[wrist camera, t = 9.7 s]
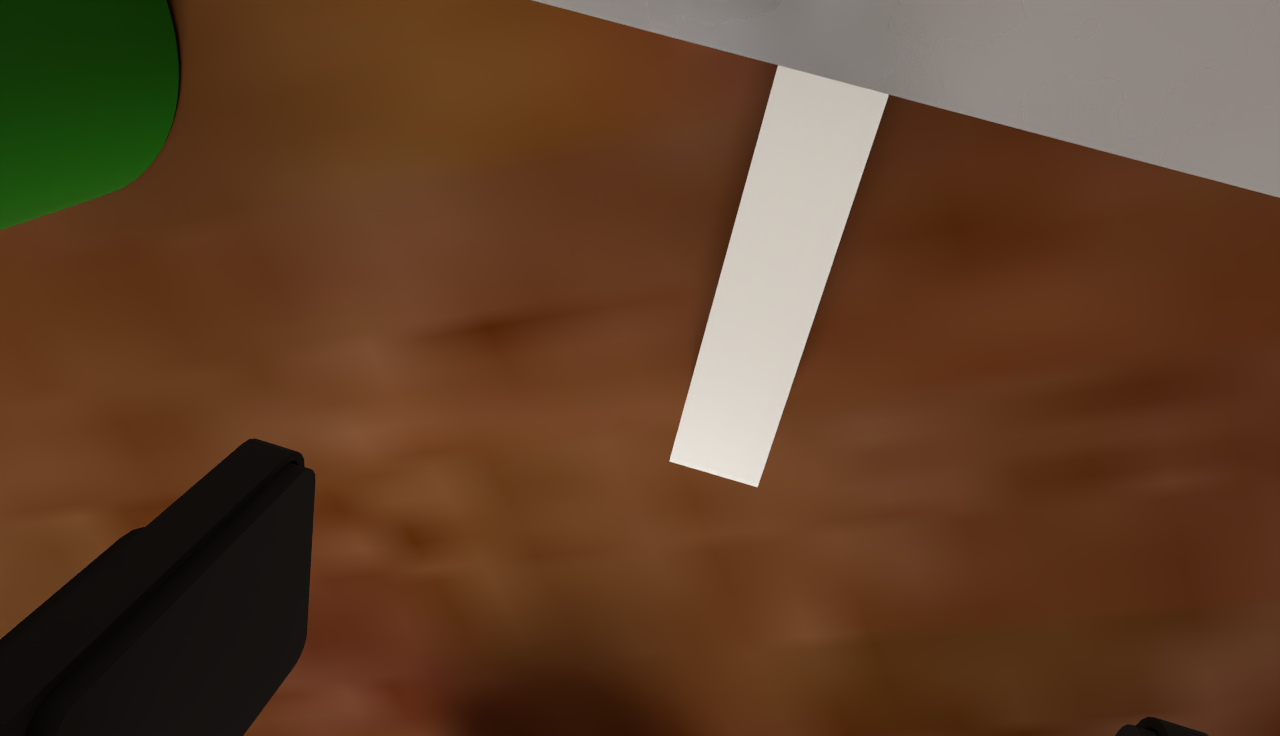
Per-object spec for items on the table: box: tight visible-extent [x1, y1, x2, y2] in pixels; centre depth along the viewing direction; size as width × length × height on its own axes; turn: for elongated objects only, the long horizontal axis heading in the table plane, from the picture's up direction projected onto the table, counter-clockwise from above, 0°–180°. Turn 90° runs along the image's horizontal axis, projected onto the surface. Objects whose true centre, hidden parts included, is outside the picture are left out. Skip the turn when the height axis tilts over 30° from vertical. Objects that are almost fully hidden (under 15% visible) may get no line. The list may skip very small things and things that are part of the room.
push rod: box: [670, 65, 889, 487], centre depth 22 cm, size 15×2×4 cm, turn 168°
